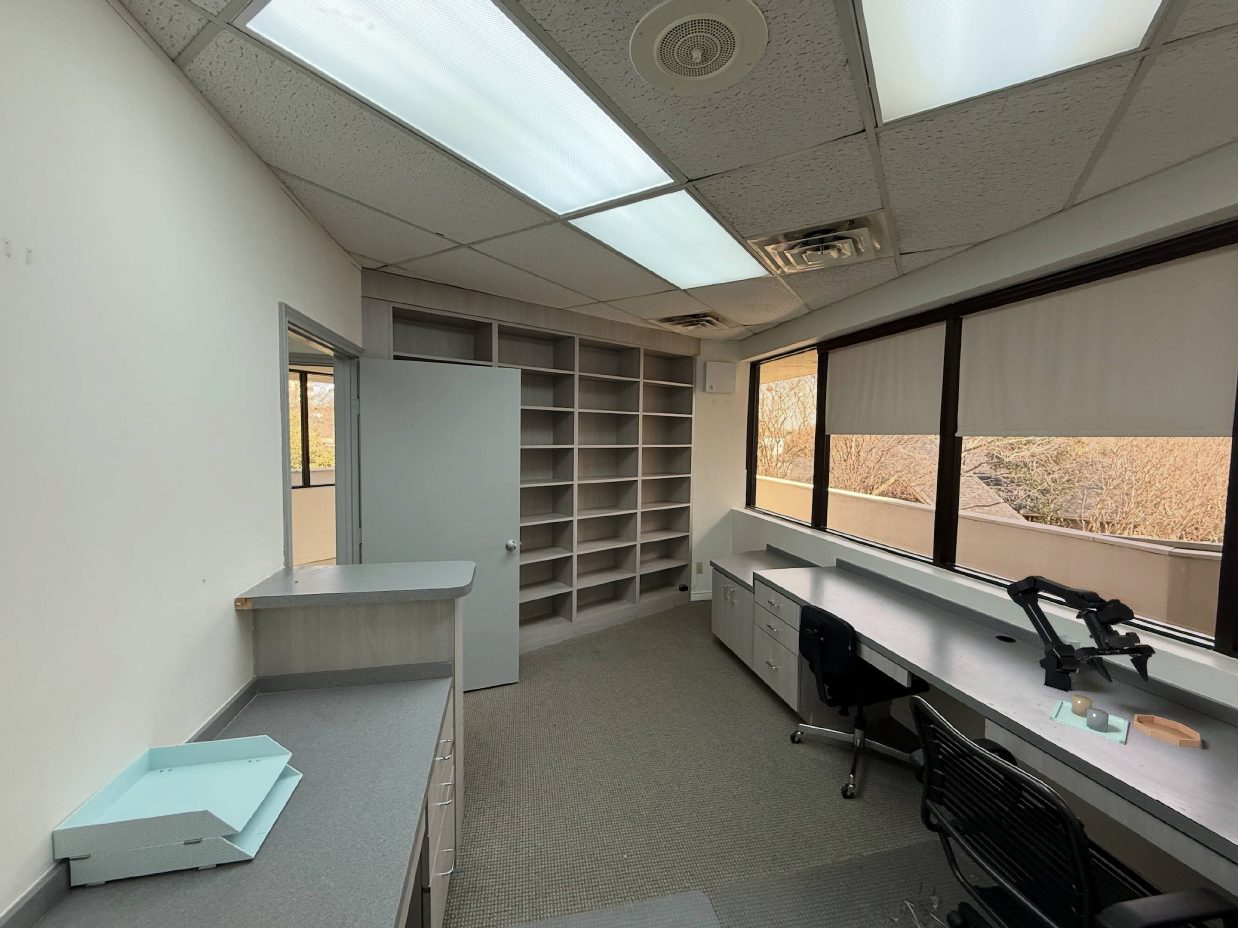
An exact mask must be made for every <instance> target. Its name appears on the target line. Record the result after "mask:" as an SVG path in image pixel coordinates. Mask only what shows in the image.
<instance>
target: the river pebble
mask: <svg viewBox="0 0 1238 928" xmlns="http://www.w3.org/2000/svg"><path fill="white" fill-rule="evenodd" d="M1071 703H1072V713H1074V714H1075V715H1078V716H1080V717H1084V718H1087V708H1093V700H1092V698H1090V697H1087V696H1084V695H1081V694H1072V695H1071Z"/></svg>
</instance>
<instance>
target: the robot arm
mask: <svg viewBox="0 0 1238 928" xmlns="http://www.w3.org/2000/svg"><path fill="white" fill-rule="evenodd" d="M1042 591H1044V592H1046V593H1049V594H1051V595H1053V596H1056V597H1058V598H1061V599H1063V600H1064V602H1065V603H1066V604H1067V605H1069V606H1071V607H1072V608H1075V609H1078V611H1077V614H1076V615H1075V619H1076V620H1083V622H1084V624H1085V625H1086V628H1087V629H1088V631H1089V633H1090V634H1089V635H1088V637H1089V638H1090V639H1093V641H1094V643H1095V644H1096V646H1097V647H1096V646H1080V648H1079V649H1077V650H1075V649H1074V647H1073V646H1072V645H1071V644H1065V643H1063V642H1062V641H1061V640H1060V638H1059V637H1058V633H1057V631H1056V630H1055V629H1054V627H1053V625H1052V624H1051V622H1050V621H1049V619H1048V618H1047V616H1046V615H1045V613H1044V611H1043V610H1042V608H1041V606H1040V605H1039V597H1040V596H1039V593H1040V592H1042ZM1006 592H1007V595H1008V596H1009V598H1010V599H1011V601H1013V603H1015V604H1016V605H1018V606H1020V607H1021V608H1022V609H1023V611H1024V612H1025V615H1026V616H1027V617H1028V620H1029V621H1030V622H1031V624H1032V626H1033V627H1034V629H1035V631H1036V633H1037V635H1038V636H1039V638H1040V640H1041V641H1042V643H1043V645H1044V651H1043V653H1044V656H1045V657H1043V658H1041V659H1040V660H1039V661H1038V662H1039V666H1040V668H1041V669H1044V670H1045V671H1044V682H1043V686H1046V687H1048V688H1052V689H1055V690H1059V691H1062V692H1066V693H1069V692H1070V691H1072V689H1073V676H1072V675H1071V673H1072V674H1076V671H1077V669H1078V668H1080V666H1081V663H1083V664H1084V663H1086V664H1087V665H1088V666H1089V667H1091V668H1092V669H1093V670H1095V671H1096V672H1097V673H1098V674H1099V675H1100V676H1101V677H1102V678H1104V679H1105V680H1106V681H1107V682H1108V683H1109V684H1111V683H1113V682H1114V681H1113V678H1112V677H1111V675H1110V673H1109V671H1108V669H1107V668H1106V665H1105V663H1104V660H1103V657H1104V656H1105V657H1107V656H1108V657H1109V656H1128V657H1130V659H1129V661H1130V662H1131V664H1132V665H1133V666H1134V668H1135V670H1136V671H1137V673H1138V674H1139V676H1140V678H1141V679H1142V680H1143V681H1144V682H1149V681H1150V680H1149V674H1148V661H1149V659H1150V658H1152V657H1153V655H1156V654H1157V652H1156V650H1155V649H1154V647H1153V646H1151V645H1150V644H1141V643H1142V641H1141V639H1140V637H1139V635H1138V634H1137V632H1135V631H1126V632H1125V634H1121V633H1120V632H1119V631H1118V630H1117V629H1114V628H1113V626H1117V625H1120V624H1123V623H1126V622H1130V621H1133V620H1134V619H1135V613H1134V611H1133V609H1131V608H1130V607H1129V606H1128V605H1127V604H1126V603H1124V602H1121V600H1120V599H1119V598H1112V599H1109V600H1106V599H1104V598H1102V597H1101V596H1100V594H1099V593H1098V592H1096V591H1093V590H1087V589H1083V588H1082V589H1081V588H1080V589H1079V588H1073V587H1070V586H1068V585H1065V584H1063V583H1060V582H1057V581H1054V580H1052V579H1048V578H1046V577H1044V576H1043V575H1029V576H1026V577H1025V578H1023V579H1020V580H1017V581H1014V582H1013V583H1010V584H1009V585H1008V587H1007V588H1006ZM1081 609H1083V610H1081Z"/></svg>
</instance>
